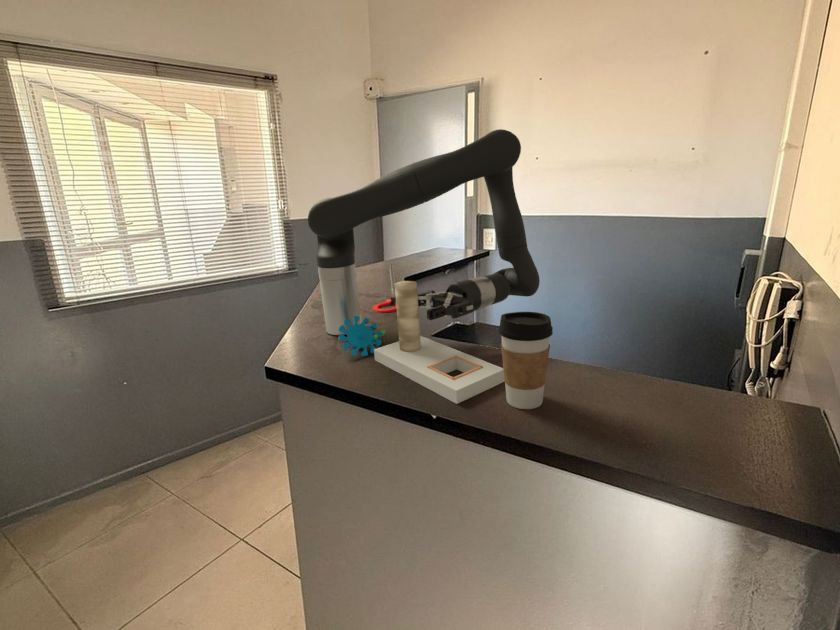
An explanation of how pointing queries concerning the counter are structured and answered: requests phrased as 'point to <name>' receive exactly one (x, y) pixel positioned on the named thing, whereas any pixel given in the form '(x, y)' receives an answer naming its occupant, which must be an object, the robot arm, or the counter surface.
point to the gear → (360, 336)
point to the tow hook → (388, 302)
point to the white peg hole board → (441, 369)
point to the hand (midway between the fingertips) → (415, 311)
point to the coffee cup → (525, 356)
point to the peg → (408, 316)
